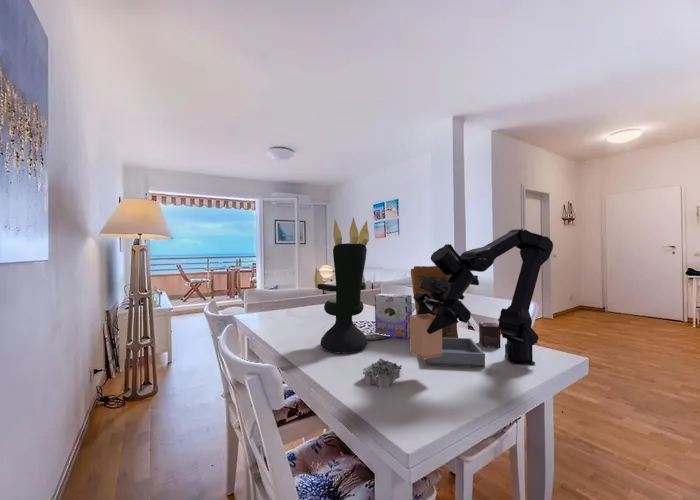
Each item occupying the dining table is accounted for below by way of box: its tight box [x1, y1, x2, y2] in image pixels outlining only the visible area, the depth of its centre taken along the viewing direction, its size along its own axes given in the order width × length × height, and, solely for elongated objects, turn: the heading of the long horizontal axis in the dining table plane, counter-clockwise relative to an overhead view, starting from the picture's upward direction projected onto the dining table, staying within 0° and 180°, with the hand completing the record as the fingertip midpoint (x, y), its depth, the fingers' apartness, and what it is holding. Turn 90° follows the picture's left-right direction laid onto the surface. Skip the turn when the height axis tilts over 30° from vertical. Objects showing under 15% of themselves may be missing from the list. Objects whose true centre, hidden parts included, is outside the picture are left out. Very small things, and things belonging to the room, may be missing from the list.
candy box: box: [374, 292, 413, 341], centre depth 124 cm, size 14×6×16 cm, turn 58°
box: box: [478, 322, 501, 348], centre depth 112 cm, size 6×6×7 cm
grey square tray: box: [425, 337, 486, 369], centre depth 99 cm, size 16×16×4 cm
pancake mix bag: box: [410, 265, 459, 338], centre depth 122 cm, size 7×19×28 cm, turn 55°
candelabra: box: [313, 216, 370, 354], centre depth 108 cm, size 19×22×45 cm
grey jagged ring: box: [362, 358, 403, 389], centre depth 83 cm, size 11×8×4 cm
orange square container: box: [409, 314, 442, 360], centre depth 83 cm, size 6×6×10 cm
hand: (421, 329), depth 83 cm, fingers closed on orange square container, 6 cm apart
